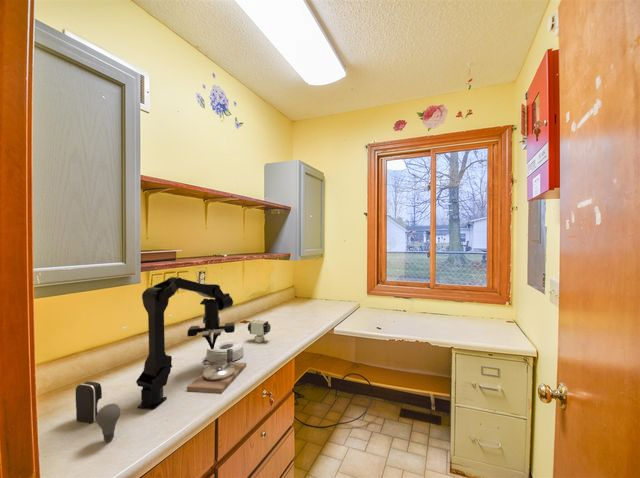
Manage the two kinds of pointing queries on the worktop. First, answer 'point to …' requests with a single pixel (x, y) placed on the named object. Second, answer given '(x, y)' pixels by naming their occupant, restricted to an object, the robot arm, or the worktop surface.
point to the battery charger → (87, 401)
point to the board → (218, 385)
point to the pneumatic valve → (259, 329)
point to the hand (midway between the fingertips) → (212, 349)
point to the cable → (224, 351)
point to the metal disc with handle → (220, 369)
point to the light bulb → (108, 420)
